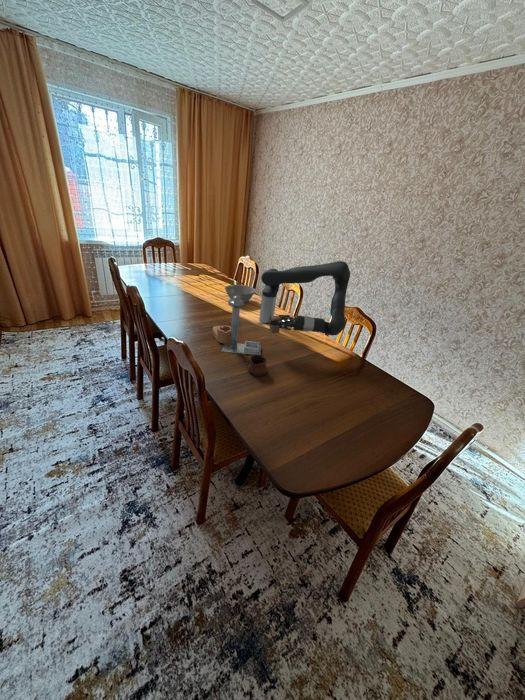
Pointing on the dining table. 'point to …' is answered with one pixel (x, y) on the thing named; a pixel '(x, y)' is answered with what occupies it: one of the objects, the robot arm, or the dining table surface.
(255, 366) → the ceramic pot
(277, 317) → the wooden block
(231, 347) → the metal post stand
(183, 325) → the dining table surface
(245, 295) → the ceramic bowl
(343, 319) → the robot arm
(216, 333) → the bracket
